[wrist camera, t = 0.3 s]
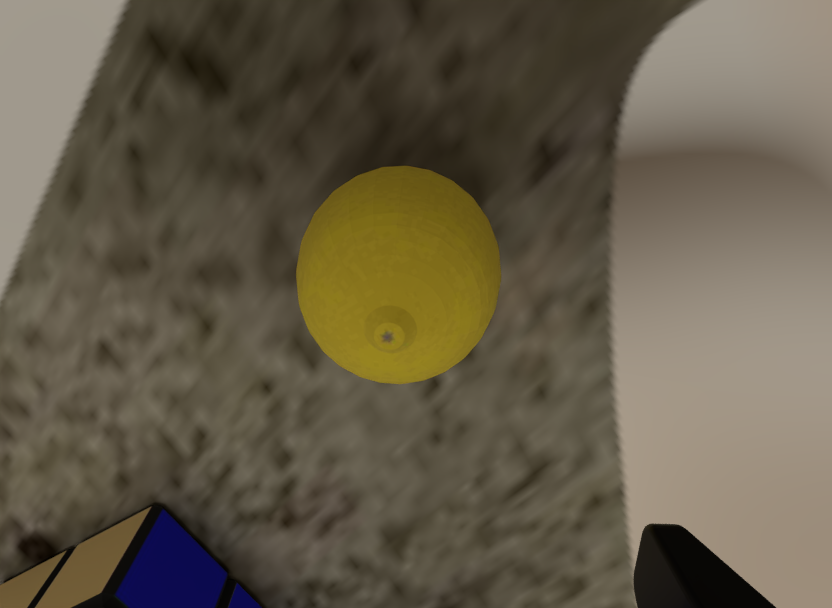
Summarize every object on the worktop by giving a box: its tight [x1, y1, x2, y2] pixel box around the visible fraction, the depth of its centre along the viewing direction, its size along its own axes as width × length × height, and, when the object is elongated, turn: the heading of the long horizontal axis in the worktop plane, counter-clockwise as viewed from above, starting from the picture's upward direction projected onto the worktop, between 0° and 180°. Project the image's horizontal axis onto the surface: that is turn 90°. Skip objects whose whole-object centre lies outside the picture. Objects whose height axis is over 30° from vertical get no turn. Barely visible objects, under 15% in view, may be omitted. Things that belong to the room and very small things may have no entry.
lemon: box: [296, 166, 501, 384], centre depth 17 cm, size 6×6×8 cm
